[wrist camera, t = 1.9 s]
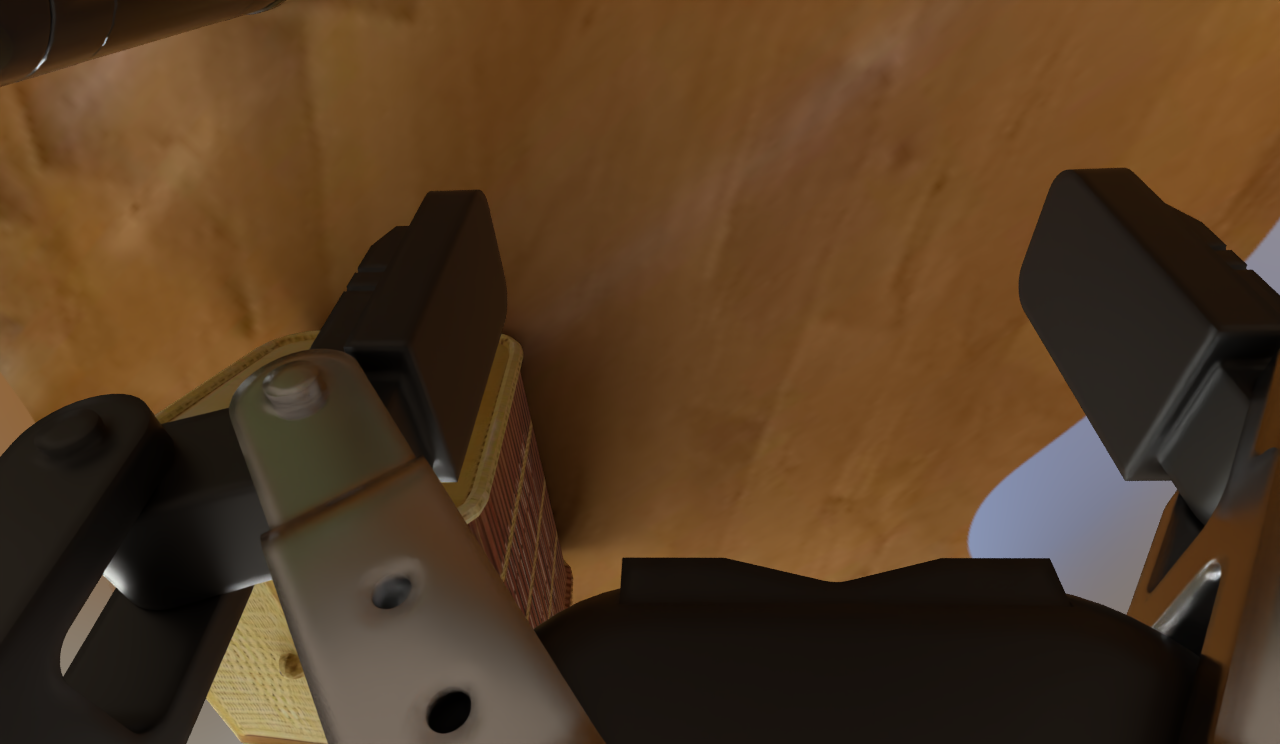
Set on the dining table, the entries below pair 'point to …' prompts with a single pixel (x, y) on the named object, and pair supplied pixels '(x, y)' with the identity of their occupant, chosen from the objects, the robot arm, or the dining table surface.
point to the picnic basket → (484, 495)
